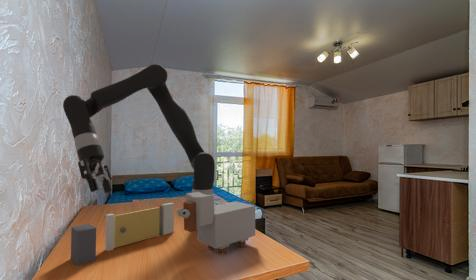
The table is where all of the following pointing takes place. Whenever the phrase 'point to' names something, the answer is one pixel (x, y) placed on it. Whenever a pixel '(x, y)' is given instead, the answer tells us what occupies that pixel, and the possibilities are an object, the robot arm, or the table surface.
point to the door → (136, 226)
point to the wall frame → (164, 224)
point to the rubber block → (83, 244)
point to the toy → (218, 221)
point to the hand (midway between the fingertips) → (102, 191)
